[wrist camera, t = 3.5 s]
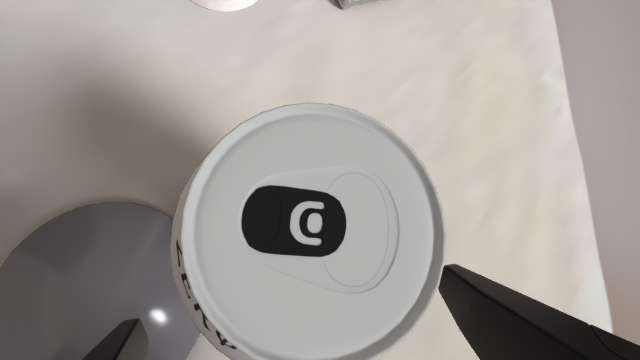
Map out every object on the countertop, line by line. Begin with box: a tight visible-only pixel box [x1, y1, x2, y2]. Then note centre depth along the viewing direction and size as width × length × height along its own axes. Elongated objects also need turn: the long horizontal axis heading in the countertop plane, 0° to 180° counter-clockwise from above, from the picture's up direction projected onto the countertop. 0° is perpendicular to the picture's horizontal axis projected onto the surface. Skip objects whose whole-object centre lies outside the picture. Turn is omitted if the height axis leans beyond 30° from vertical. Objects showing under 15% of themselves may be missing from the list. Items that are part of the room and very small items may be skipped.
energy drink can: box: [170, 103, 446, 360], centre depth 13 cm, size 6×6×15 cm
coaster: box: [0, 202, 200, 360], centre depth 17 cm, size 11×11×1 cm
